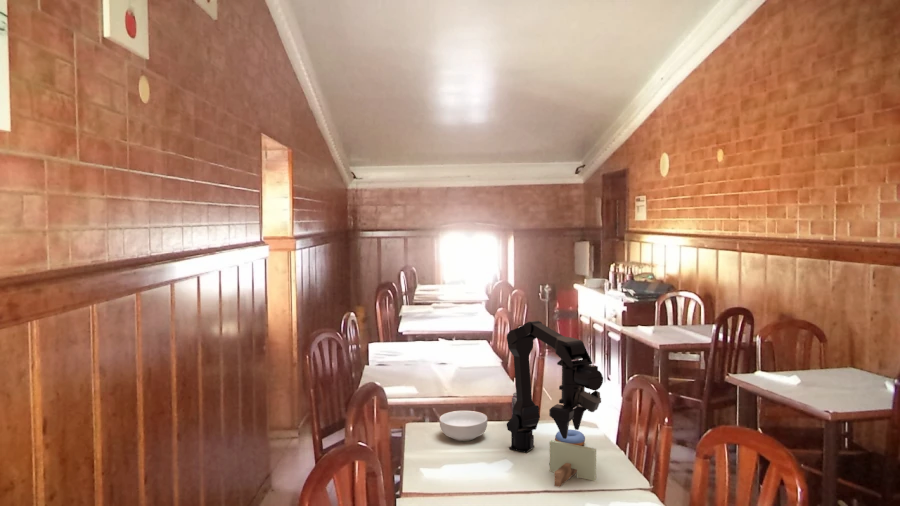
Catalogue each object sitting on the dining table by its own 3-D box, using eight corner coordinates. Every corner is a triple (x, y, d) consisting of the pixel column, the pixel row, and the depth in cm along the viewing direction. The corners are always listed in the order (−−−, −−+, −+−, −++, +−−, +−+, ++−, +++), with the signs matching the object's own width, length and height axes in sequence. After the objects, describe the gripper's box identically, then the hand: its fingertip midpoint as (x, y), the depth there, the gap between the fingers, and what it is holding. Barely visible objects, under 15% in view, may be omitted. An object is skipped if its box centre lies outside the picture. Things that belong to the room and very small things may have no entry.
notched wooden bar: (559, 486, 186) (559, 473, 185) (554, 485, 186) (554, 472, 186) (585, 464, 202) (585, 451, 202) (580, 463, 203) (580, 450, 203)
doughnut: (591, 443, 220) (590, 430, 220) (572, 452, 214) (571, 438, 213) (568, 438, 228) (567, 425, 228) (549, 447, 221) (548, 433, 221)
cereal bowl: (443, 428, 237) (443, 409, 236) (489, 430, 235) (489, 411, 234) (435, 444, 220) (435, 424, 220) (485, 447, 218) (485, 426, 217)
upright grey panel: (549, 470, 197) (549, 441, 197) (551, 469, 199) (551, 440, 198) (594, 480, 190) (594, 450, 189) (596, 479, 191) (596, 448, 190)
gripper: (585, 393, 182) (584, 448, 183) (608, 379, 198) (607, 430, 199) (548, 388, 188) (548, 441, 189) (573, 374, 204) (573, 423, 205)
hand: (570, 433), depth 195 cm, fingers open, 9 cm apart
